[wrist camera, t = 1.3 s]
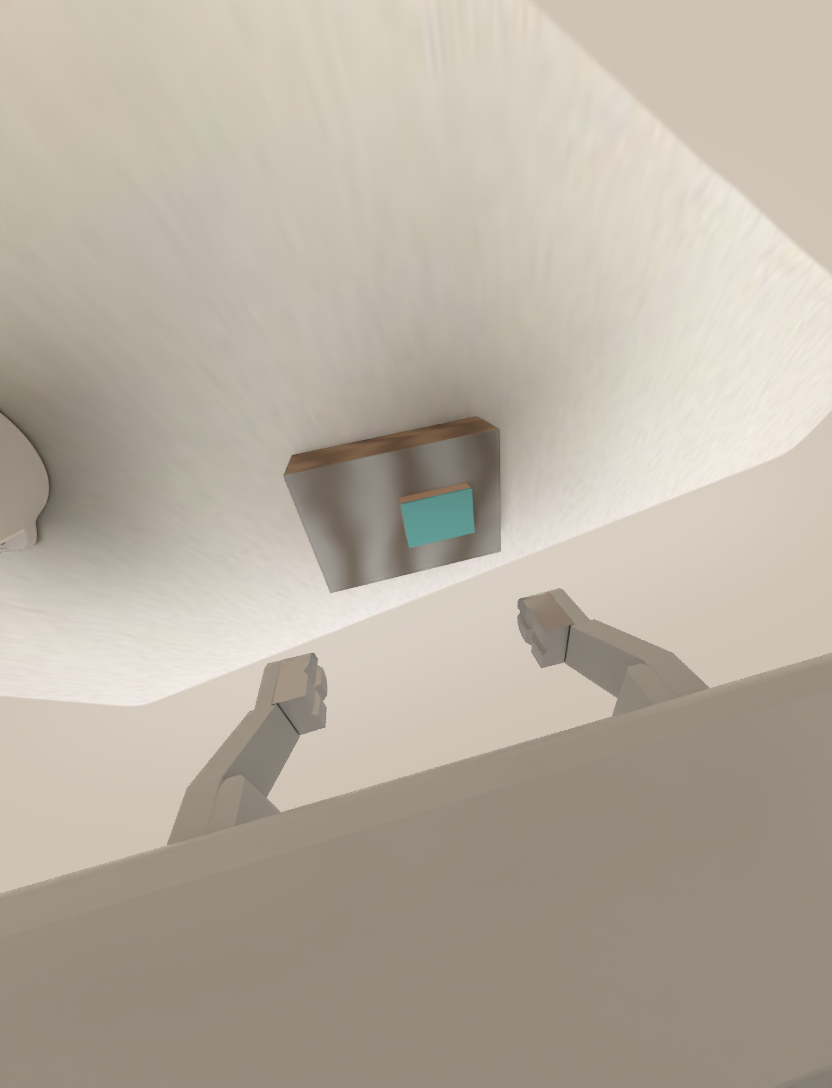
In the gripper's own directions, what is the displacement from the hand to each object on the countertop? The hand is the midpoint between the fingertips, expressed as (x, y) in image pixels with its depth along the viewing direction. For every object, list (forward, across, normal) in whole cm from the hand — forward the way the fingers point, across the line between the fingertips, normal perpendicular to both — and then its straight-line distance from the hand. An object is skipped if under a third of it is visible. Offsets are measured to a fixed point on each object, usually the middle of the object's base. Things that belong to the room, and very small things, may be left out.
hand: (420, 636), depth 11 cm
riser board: (+28, -2, +7) cm, 28 cm away
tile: (+22, -5, +7) cm, 23 cm away
